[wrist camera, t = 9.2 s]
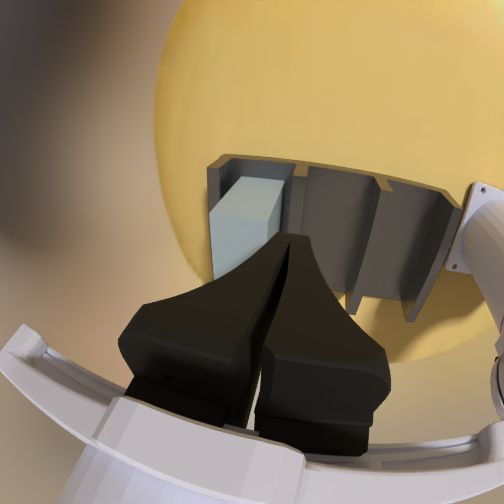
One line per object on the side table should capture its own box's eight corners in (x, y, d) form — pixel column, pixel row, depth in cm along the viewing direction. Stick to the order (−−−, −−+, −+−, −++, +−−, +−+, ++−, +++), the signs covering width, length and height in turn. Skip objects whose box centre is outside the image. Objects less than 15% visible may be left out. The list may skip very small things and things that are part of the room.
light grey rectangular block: (284, 180, 18) (268, 220, 13) (277, 264, 22) (261, 319, 17) (241, 176, 18) (209, 213, 14) (241, 259, 22) (216, 310, 18)
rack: (445, 189, 16) (464, 210, 13) (407, 294, 21) (414, 322, 19) (223, 153, 19) (205, 167, 16) (226, 265, 24) (213, 291, 22)
